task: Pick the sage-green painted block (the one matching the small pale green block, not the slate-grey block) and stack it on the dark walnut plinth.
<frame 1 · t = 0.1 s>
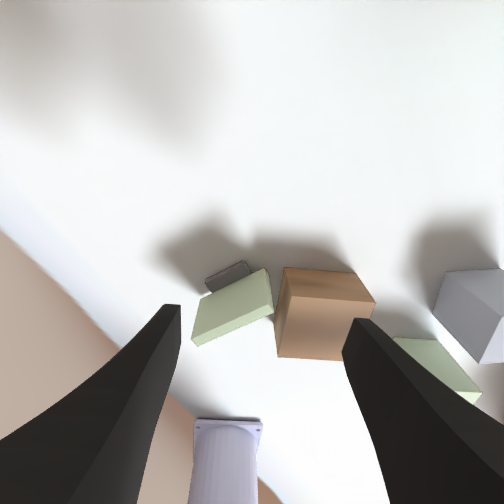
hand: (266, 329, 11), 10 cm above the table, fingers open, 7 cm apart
walnut plinth: (312, 298, 23), on the table
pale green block: (234, 283, 22), on the table
sage block: (407, 354, 27), on the table
slate block: (464, 291, 23), on the table
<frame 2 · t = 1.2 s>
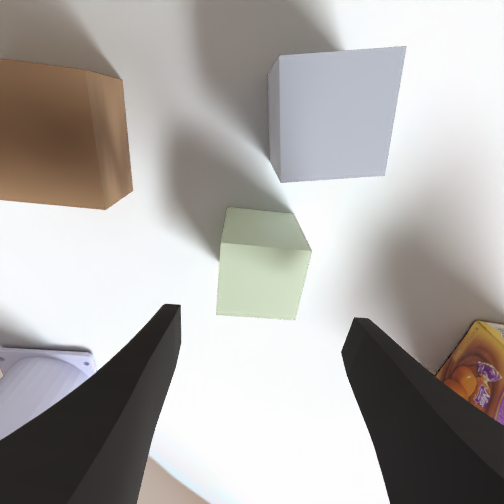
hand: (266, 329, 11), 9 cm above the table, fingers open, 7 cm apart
candy box: (464, 354, 25), on the table
walnut plinth: (76, 133, 16), on the table
sage block: (256, 240, 19), on the table
slate block: (307, 118, 15), on the table
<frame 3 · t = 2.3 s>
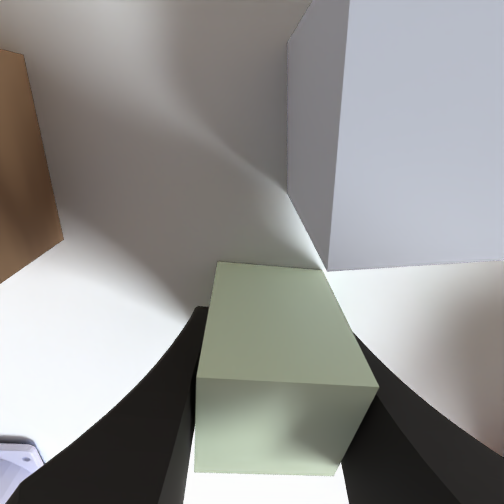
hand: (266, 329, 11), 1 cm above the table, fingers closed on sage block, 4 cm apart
sage block: (263, 307, 12), on the table, touching gripper
slate block: (354, 122, 9), on the table
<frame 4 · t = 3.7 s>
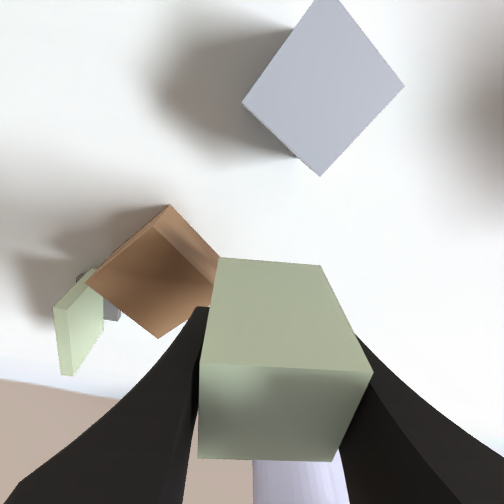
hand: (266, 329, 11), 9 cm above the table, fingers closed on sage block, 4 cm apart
walnut plinth: (171, 257, 20), on the table
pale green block: (101, 296, 21), on the table
sage block: (263, 302, 13), point 7 cm above the table, touching gripper
slate block: (297, 100, 15), on the table
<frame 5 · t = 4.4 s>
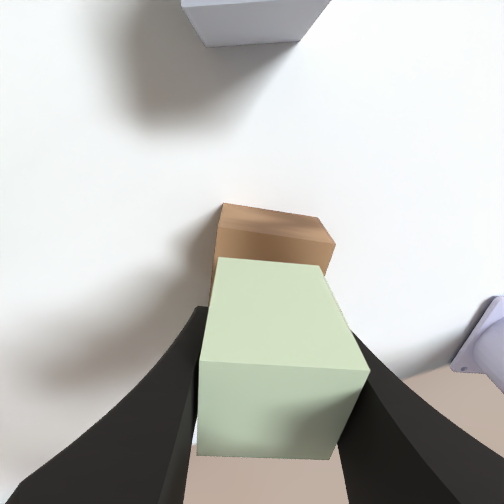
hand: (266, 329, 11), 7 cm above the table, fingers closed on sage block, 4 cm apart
walnut plinth: (262, 251, 18), on the table
sage block: (262, 301, 13), point 6 cm above the table, touching gripper
when the fingers open (7 cm above the table, at t = 5.0 s): sage block drops 1 cm, resting on walnut plinth.
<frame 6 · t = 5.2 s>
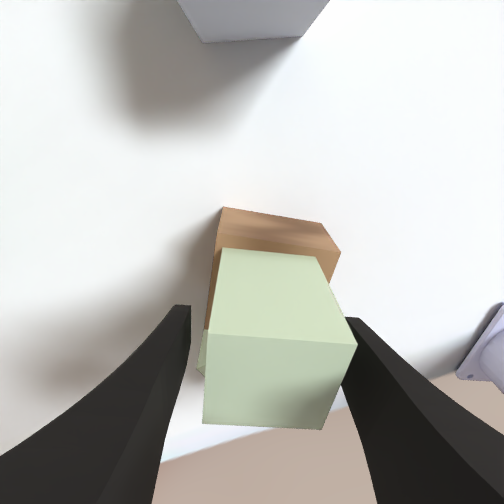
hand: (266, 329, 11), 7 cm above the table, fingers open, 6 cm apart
walnut plinth: (262, 256, 17), on the table, touching sage block
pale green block: (234, 333, 20), on the table
sage block: (263, 290, 14), point 4 cm above the table, touching walnut plinth
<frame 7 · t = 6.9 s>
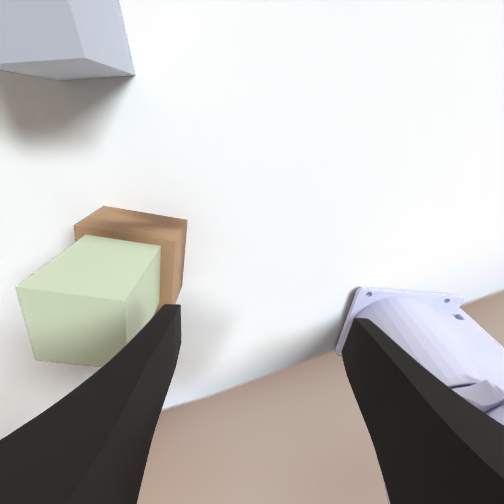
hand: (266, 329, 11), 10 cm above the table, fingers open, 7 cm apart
walnut plinth: (147, 247, 21), on the table, touching sage block
sage block: (125, 271, 17), point 4 cm above the table, touching walnut plinth
slate block: (84, 29, 15), on the table
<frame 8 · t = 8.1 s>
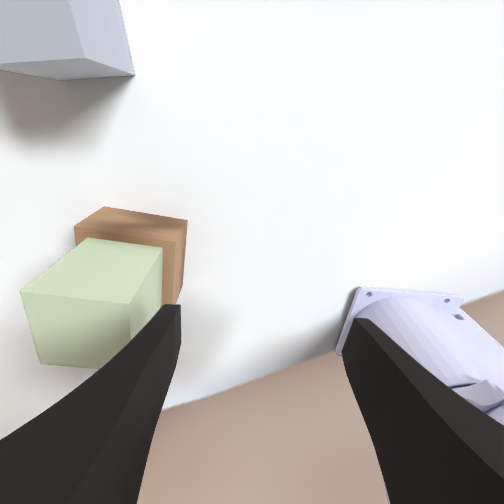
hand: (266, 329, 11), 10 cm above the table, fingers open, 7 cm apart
walnut plinth: (147, 248, 21), on the table, touching sage block
sage block: (127, 273, 17), point 4 cm above the table, touching walnut plinth
slate block: (84, 29, 15), on the table
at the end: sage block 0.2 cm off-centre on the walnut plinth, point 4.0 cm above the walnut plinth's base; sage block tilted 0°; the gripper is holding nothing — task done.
